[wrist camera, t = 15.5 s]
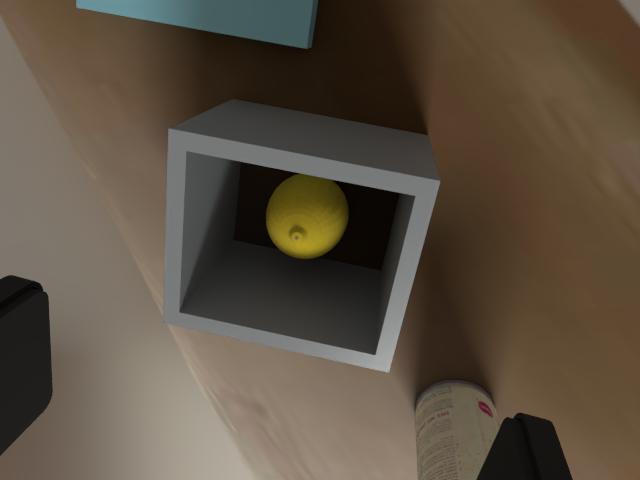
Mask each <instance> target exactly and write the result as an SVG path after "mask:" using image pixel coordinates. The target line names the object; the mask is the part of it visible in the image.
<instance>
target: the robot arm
mask: <svg viewBox="0 0 640 480" xmlns="http://www.w3.org/2000/svg"><path fill="white" fill-rule="evenodd" d="M51 397H52V371H51V346H50V323H49V301H48V295H47V293H46V292H44V291H43V288H42V286H41V284H40V283H38V282H35V281H31V280H28V279H24V278H20V277H17V276H13V275H12V276H11V275H9V276H6V277H4V278H2V279H0V456H1V454H2V453H3V452H4V451H5V450H6V449H7V448H8V447H9V446H10V445H11V444H12V443H13V442H14V441H15V440H16V439H17V438H18V437H19V436H20V435H21V434H22V433H23V432H24V431H25V430H26V429H27V428H28V427H29V426H30V425H31V424H32V423H33V421H35V419H36V418H37V417H38V416H39V415H40V414H41V413H42V412H43V411H44V410H45V409H46V408H47V406H48V404H49V402H50V400H51ZM476 480H573V479H572V476H571V474H570V471H569V468H568V465H567V462H566V459H565V456H564V454H563V451H562V448H561V445H560V442H559V439H558V436H557V434H556V431H555V428H554V426H553V424H552V422H551V421H549V420H546V419H542V418H539V417H535V416H531V415H527V414H524V413H517V414H516V415H515V417H514V418H513V419H512V418H508V417H507V418H505V419H504V421H503V422H502V424H501V427H500V429H499V431H498V433H497V435H496V437H495V440H494V442H493V444H492V446H491V448H490V451H489V453H488V455H487V457H486V459H485V461H484V464H483V466H482V468H481V470H480V472H479V475H478V477H477V479H476Z"/></svg>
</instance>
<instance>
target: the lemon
mask: <svg viewBox="0 0 640 480" xmlns="http://www.w3.org/2000/svg"><path fill="white" fill-rule="evenodd" d="M348 218H349V212H348V203H347V200H346V197H345V195H344V193H343V191H342V190H341V188H340V187H339V186H338V185H337V184H336V183H335V182H334V181H333V180H331V179H326V178H321V177H316V176H311V175H306V174H301V173H300V174H296V175H294V176H292V177H290V178H288V179H286V180H285V181H283V182H282V183H281V184H280V185H279V186H278V187H277V188H276V189H275V191H274V193H273V194H272V196H271V198H270V200H269V203H268V207H267V210H266V226H267V230H268V233H269V236H270V238H271V239H272V241H273V243H274V244H275V245H276V246H277V247H278V249H279V250H281V251H282V252H284V253H285V254H287V255H289V256H291V257H294V258H299V259H312V258H316V257H319V256H322V255H324V254H325V253H327V252H328V251H330V250H331V249H333V247H334V246H335V245H336V244H337V243H338V242H339V241H340V240H341V238H342V236H343V234H344V232H345V230H346V228H347V223H348Z"/></svg>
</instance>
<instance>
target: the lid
mask: <svg viewBox="0 0 640 480" xmlns="http://www.w3.org/2000/svg"><path fill="white" fill-rule="evenodd" d="M76 2H77V8H82V9H88V10H93V11H99V12H105V13H110V14H116V15H121V16H127V17H132V18H138V19H143V20H149V21H155V22H160V23H166V24H171V25H177V26H182V27H188V28H193V29H199V30H205V31H210V32H216V33H221V34H227V35H232V36H238V37H243V38H249V39H255V40H260V41H266V42H271V43H277V44H282V45H288V46H294V47H299V48H305V49H308V48H312V42H313V35H314V28H315V20H316V13H317V6H318V0H76Z"/></svg>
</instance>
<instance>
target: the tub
mask: <svg viewBox="0 0 640 480" xmlns="http://www.w3.org/2000/svg"><path fill="white" fill-rule="evenodd" d="M241 162H245V163H250V164H255V165H260V166H265V167H270V168H275V169H280V170H286V171H291V172H296V173H301V174H306V175H311V176H316V177H321V178H326V179H331V180H337V181H342V182H347V183H352V184H357V185H362V186H367V187H372V188H377V189H382V190H388V191H393V192H398V193H400V194H399V198H398V202H397V207H396V211H395V215H394V219H393V224H392V228H391V232H390V236H389V240H388V245H387V249H386V253H385V257H384V262H383V266H382V270H376V269H371V268H366V267H361V266H357V265H352V264H347V263H342V262H337V261H332V260H328V259H323V258H318V257H316V258H312V259H299V258H294V257H291V256H289V255H287V254H285V253H284V252H282V251H281V250H279V249H275V248H270V247H265V246H260V245H255V244H250V243H246V242H241V241H236V240H234V233H235V223H236V212H237V201H238V190H239V180H240V169H241ZM439 185H440V177H439V173H438V170H437V166H436V162H435V158H434V155H433V151H432V147H431V143H430V140H429V136H428V135H424V134H419V133H413V132H408V131H403V130H397V129H392V128H387V127H381V126H376V125H371V124H365V123H360V122H355V121H349V120H344V119H339V118H333V117H328V116H323V115H317V114H312V113H307V112H301V111H296V110H291V109H285V108H280V107H275V106H269V105H264V104H259V103H253V102H248V101H243V100H237V99H231V100H229V101H227V102H225V103H223V104H221V105H218V106H216V107H214V108H212V109H210V110H208V111H205V112H203V113H201V114H199V115H197V116H194V117H192V118H190V119H188V120H186V121H184V122H181V123H179V124H177V125H175V126H173V127H170V128H169V129H168V163H167V197H166V231H165V265H164V299H163V323H167V324H171V325H176V326H180V327H185V328H189V329H194V330H198V331H203V332H208V333H212V334H217V335H221V336H226V337H230V338H235V339H239V340H244V341H248V342H253V343H257V344H262V345H266V346H271V347H276V348H280V349H285V350H289V351H294V352H298V353H303V354H307V355H312V356H316V357H321V358H325V359H330V360H334V361H339V362H343V363H348V364H353V365H357V366H362V367H366V368H371V369H375V370H380V371H384V372H389V370H390V366H391V362H392V359H393V355H394V351H395V348H396V344H397V340H398V337H399V333H400V329H401V325H402V322H403V318H404V314H405V311H406V307H407V303H408V300H409V296H410V292H411V288H412V285H413V281H414V277H415V274H416V270H417V266H418V263H419V259H420V255H421V251H422V248H423V244H424V240H425V237H426V233H427V229H428V226H429V222H430V218H431V214H432V211H433V207H434V203H435V200H436V196H437V192H438V189H439Z"/></svg>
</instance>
